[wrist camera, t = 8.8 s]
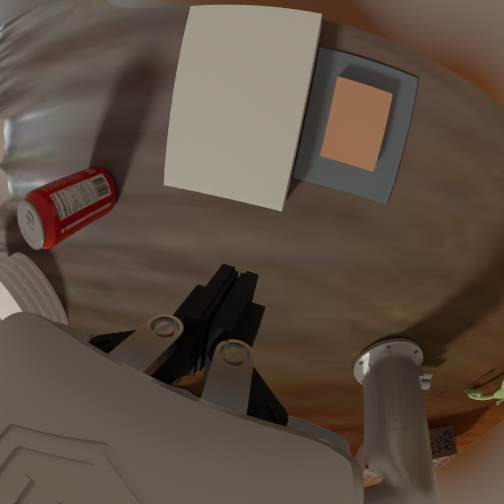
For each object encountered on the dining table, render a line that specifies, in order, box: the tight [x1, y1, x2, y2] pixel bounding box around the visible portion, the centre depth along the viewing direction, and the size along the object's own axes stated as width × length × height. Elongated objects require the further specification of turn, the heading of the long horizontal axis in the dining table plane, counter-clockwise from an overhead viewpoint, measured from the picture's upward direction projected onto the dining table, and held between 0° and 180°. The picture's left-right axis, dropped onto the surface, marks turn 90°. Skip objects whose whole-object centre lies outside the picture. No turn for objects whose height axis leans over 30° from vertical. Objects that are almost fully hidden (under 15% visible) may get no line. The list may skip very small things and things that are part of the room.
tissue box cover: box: [356, 425, 457, 482], centre depth 49 cm, size 26×14×10 cm, turn 97°
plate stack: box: [0, 252, 68, 325], centre depth 54 cm, size 28×28×12 cm
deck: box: [164, 5, 322, 211], centre depth 26 cm, size 14×22×4 cm, turn 170°
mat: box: [293, 47, 418, 205], centre depth 26 cm, size 12×16×1 cm
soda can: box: [17, 167, 116, 250], centre depth 31 cm, size 8×8×15 cm
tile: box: [320, 76, 393, 172], centre depth 25 cm, size 6×9×2 cm, turn 170°
